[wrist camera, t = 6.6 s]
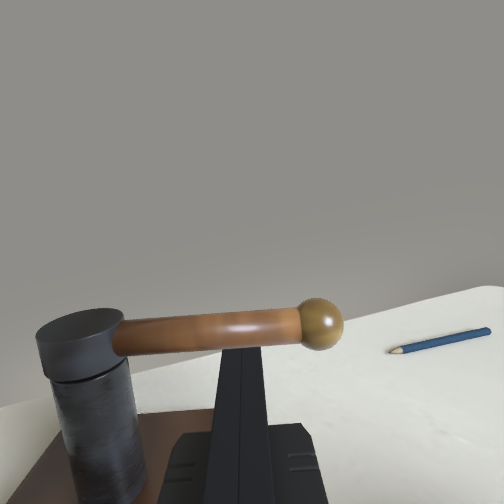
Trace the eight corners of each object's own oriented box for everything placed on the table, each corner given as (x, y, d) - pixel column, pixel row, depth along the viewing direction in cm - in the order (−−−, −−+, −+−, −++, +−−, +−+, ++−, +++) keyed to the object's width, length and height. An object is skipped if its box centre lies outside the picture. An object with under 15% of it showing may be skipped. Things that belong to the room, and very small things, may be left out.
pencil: (491, 335, 41) (391, 358, 37) (483, 332, 42) (385, 354, 38) (491, 329, 41) (391, 351, 37) (484, 326, 42) (385, 347, 38)
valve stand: (-83, 655, 15) (-161, 469, 13) (71, 433, 29) (46, 322, 27) (203, 632, 15) (176, 443, 13) (222, 421, 29) (211, 310, 27)
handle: (26, 391, 18) (13, 339, 17) (72, 347, 22) (63, 305, 22) (355, 366, 18) (355, 313, 17) (332, 328, 22) (331, 285, 22)
